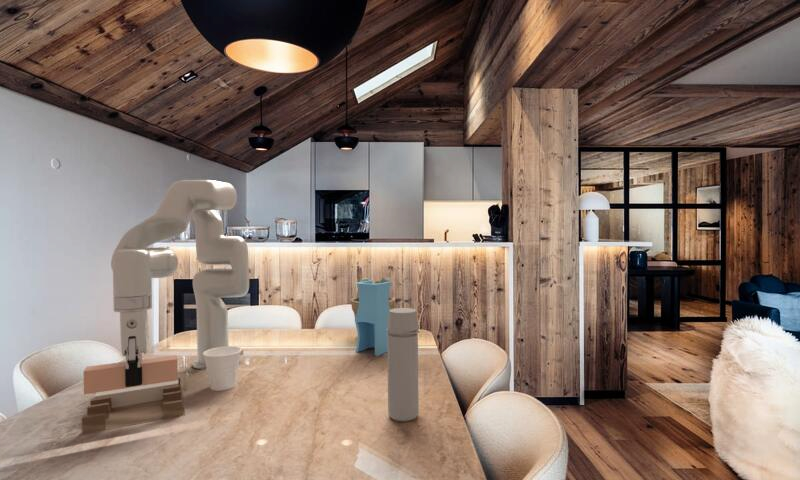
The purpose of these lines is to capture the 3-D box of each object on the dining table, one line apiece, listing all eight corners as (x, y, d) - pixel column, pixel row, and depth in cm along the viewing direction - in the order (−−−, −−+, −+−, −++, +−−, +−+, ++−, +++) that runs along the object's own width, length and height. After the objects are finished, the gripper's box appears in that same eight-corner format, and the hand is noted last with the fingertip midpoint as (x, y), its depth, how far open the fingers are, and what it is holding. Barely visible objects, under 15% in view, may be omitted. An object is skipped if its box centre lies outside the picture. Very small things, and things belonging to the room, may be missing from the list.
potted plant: (345, 341, 172) (344, 278, 172) (358, 330, 191) (357, 273, 190) (391, 342, 169) (390, 278, 169) (399, 331, 188) (398, 274, 187)
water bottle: (409, 426, 97) (408, 314, 96) (380, 418, 101) (379, 311, 100) (429, 411, 104) (428, 308, 104) (401, 404, 109) (400, 305, 108)
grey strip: (178, 391, 116) (178, 378, 116) (178, 396, 112) (178, 383, 112) (96, 405, 107) (96, 391, 107) (94, 411, 104) (94, 396, 104)
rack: (93, 407, 109) (92, 390, 109) (182, 392, 118) (182, 376, 118) (79, 440, 92) (79, 419, 92) (185, 420, 101) (184, 401, 101)
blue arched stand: (392, 349, 160) (392, 281, 159) (377, 355, 151) (376, 284, 151) (371, 345, 165) (370, 280, 164) (355, 351, 157) (354, 283, 156)
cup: (249, 386, 123) (249, 347, 123) (225, 399, 114) (224, 357, 113) (221, 382, 126) (220, 345, 126) (195, 395, 117) (194, 354, 117)
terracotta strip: (177, 375, 106) (176, 355, 106) (177, 380, 102) (177, 359, 102) (87, 388, 97) (86, 366, 97) (84, 394, 94) (83, 371, 94)
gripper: (150, 306, 94) (152, 391, 94) (152, 297, 109) (154, 370, 109) (109, 310, 90) (111, 397, 91) (117, 299, 105) (118, 375, 105)
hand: (134, 381), depth 100 cm, fingers closed on terracotta strip, 4 cm apart
